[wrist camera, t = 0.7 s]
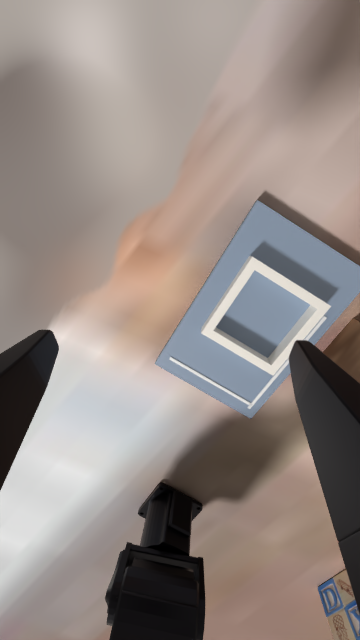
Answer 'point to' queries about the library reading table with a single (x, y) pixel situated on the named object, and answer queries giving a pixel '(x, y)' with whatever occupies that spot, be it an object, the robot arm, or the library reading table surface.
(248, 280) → the blueprint board
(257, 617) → the library reading table surface
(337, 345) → the walnut column
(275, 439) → the library reading table surface
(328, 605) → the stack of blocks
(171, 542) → the robot arm
